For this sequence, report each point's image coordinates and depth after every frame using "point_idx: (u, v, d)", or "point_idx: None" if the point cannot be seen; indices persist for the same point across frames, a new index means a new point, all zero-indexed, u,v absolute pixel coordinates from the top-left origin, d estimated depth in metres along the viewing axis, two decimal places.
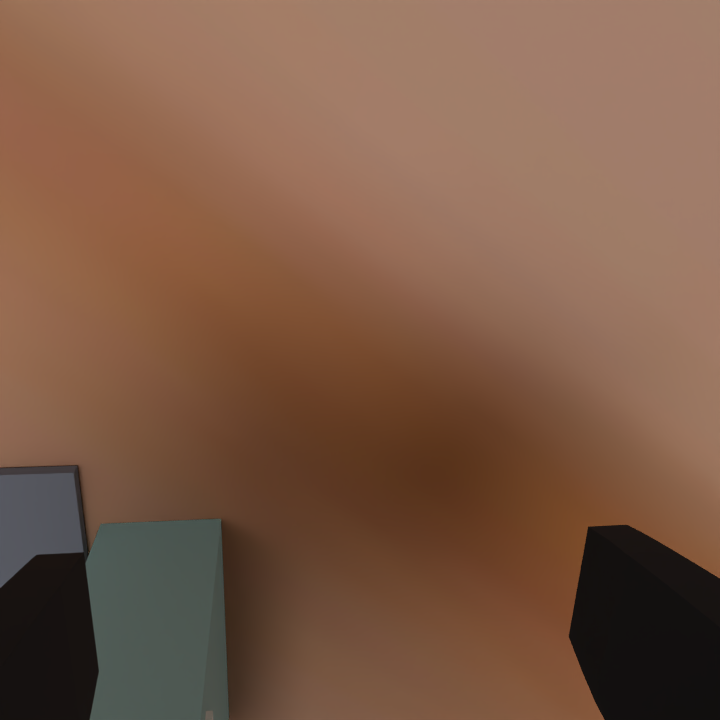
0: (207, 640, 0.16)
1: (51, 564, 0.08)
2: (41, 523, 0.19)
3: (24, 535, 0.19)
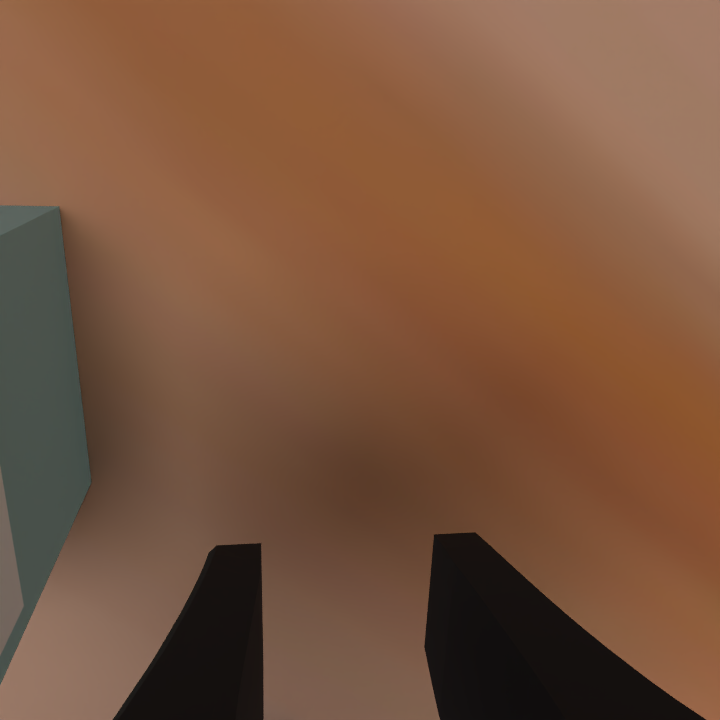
0: None
1: (239, 554, 0.09)
2: None
3: None
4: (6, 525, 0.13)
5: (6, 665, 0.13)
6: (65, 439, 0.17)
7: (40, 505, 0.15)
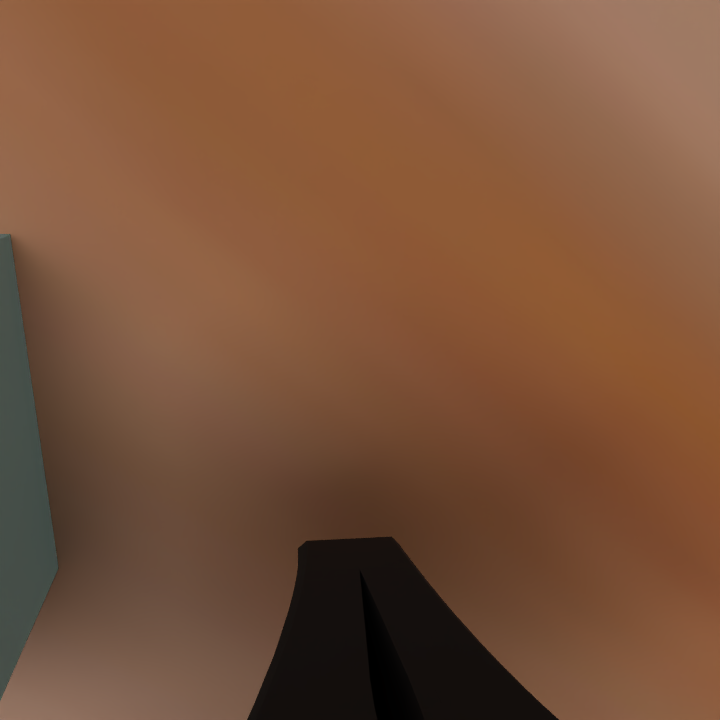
0: None
1: (331, 549, 0.09)
2: None
3: None
4: None
5: None
6: (19, 529, 0.14)
7: None
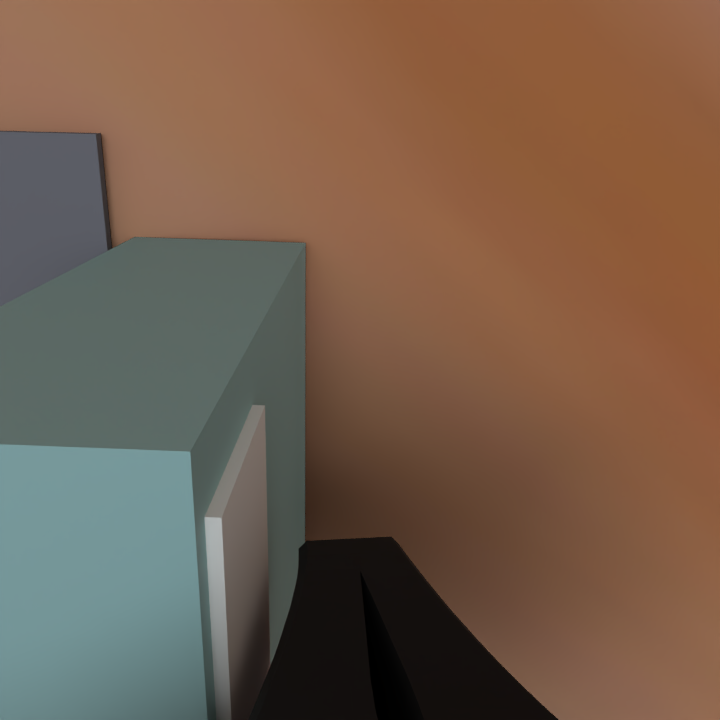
0: (265, 312, 0.09)
1: (331, 549, 0.09)
2: (48, 220, 0.13)
3: (23, 239, 0.13)
4: None
5: None
6: (296, 532, 0.14)
7: (281, 632, 0.12)
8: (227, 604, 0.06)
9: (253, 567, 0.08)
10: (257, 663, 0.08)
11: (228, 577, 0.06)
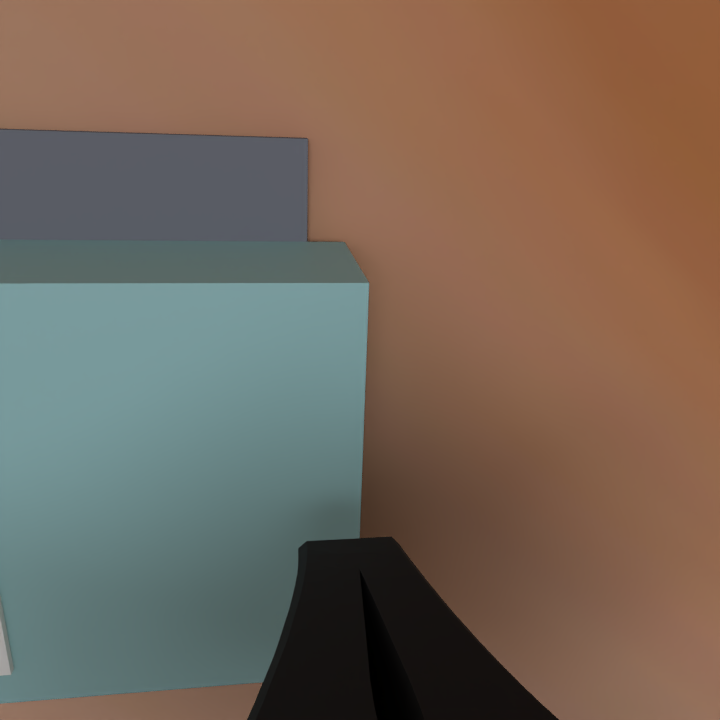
0: (35, 283, 0.10)
1: (331, 549, 0.09)
2: (255, 221, 0.14)
3: (230, 239, 0.14)
4: None
5: None
6: (257, 583, 0.12)
7: (126, 613, 0.12)
8: None
9: None
10: None
11: None
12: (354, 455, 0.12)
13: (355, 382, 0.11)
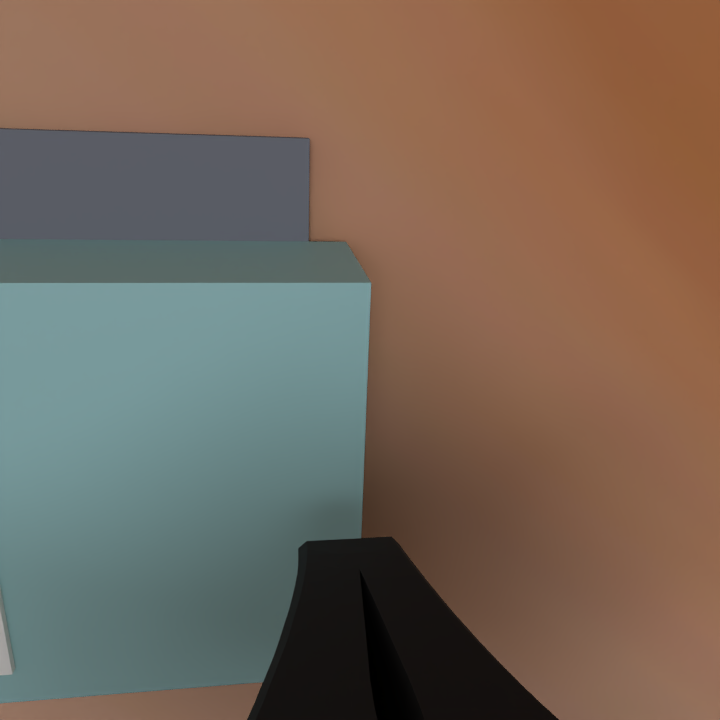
0: (37, 283, 0.10)
1: (331, 549, 0.09)
2: (257, 221, 0.14)
3: (231, 239, 0.14)
4: None
5: None
6: (258, 583, 0.12)
7: (128, 612, 0.12)
8: None
9: None
10: None
11: None
12: (356, 455, 0.12)
13: (357, 382, 0.11)
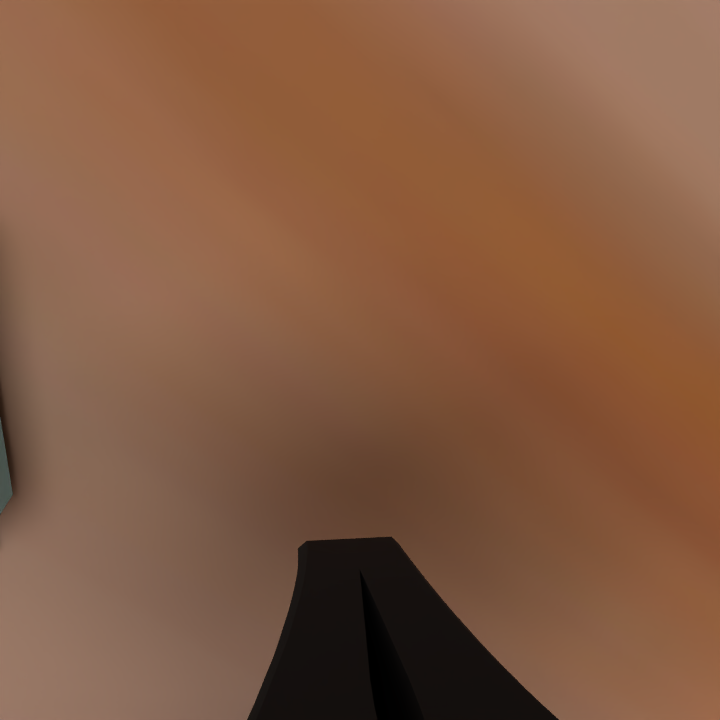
0: None
1: (331, 549, 0.09)
2: None
3: None
4: None
5: None
6: None
7: None
8: None
9: None
10: None
11: None
12: None
13: None
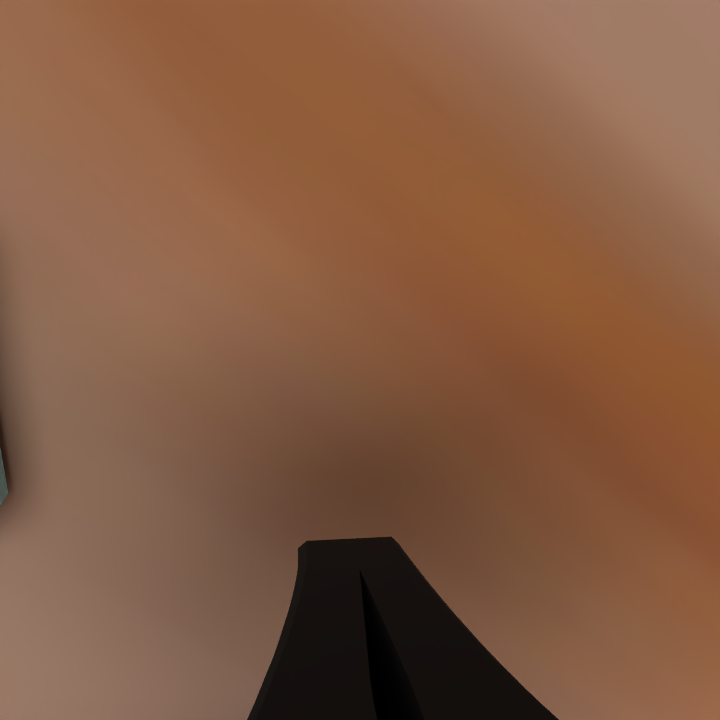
0: None
1: (331, 549, 0.09)
2: None
3: None
4: None
5: None
6: None
7: None
8: None
9: None
10: None
11: None
12: None
13: None
